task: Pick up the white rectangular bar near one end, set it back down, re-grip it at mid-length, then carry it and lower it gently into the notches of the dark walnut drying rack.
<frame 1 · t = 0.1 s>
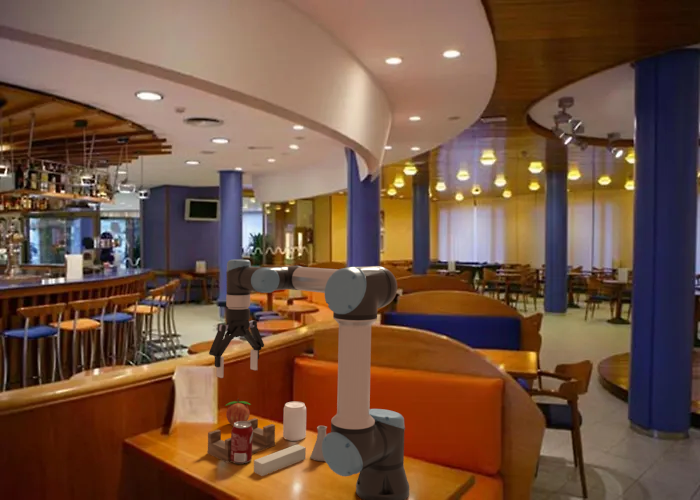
hand: (237, 373, 178), 28 cm above the table, fingers open, 13 cm apart
beverage can: (294, 438, 199), on the table
white rectangular bar: (280, 466, 175), on the table
rack: (242, 449, 187), on the table
soda can: (240, 461, 178), on the table, touching rack
flask: (321, 458, 182), on the table
fruit: (237, 425, 211), on the table
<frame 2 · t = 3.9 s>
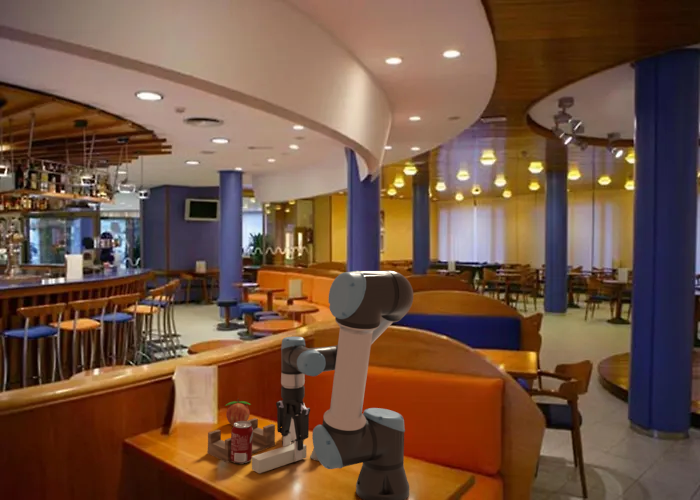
hand: (292, 457, 178), 1 cm above the table, fingers closed on white rectangular bar, 4 cm apart
white rectangular bar: (279, 463, 175), point 1 cm above the table, touching gripper
everything else where it was.
when the fingers open (1 cm above the table, at t = 4.7 s): white rectangular bar stays where it is, on the table.
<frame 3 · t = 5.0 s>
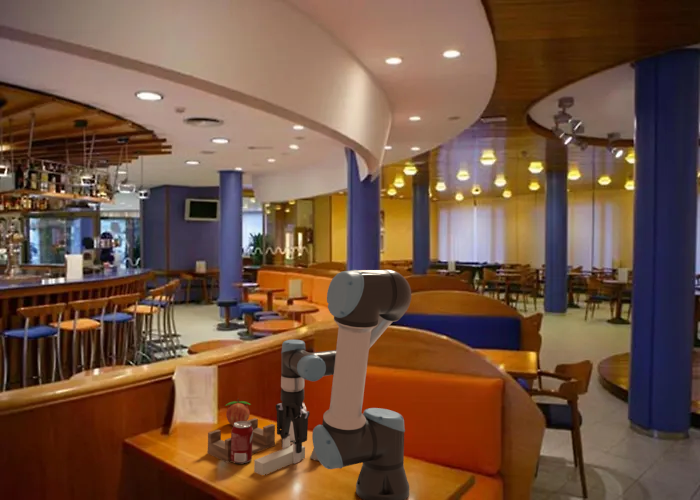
hand: (291, 459, 179), 0 cm above the table, fingers open, 4 cm apart
white rectangular bar: (280, 465, 175), on the table
everything else where it was.
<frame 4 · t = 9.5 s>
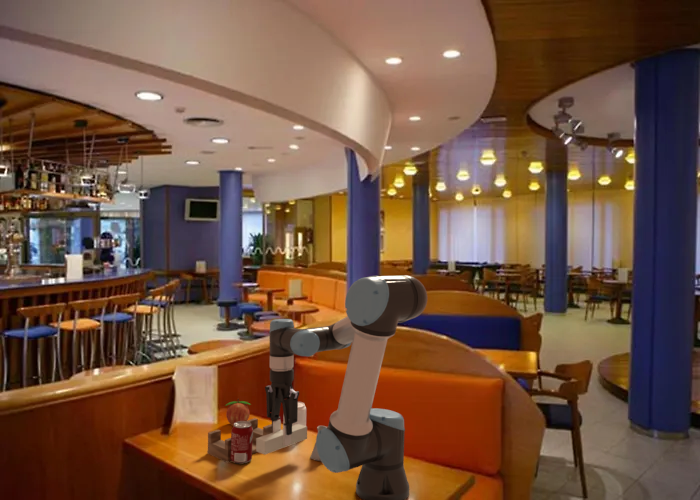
hand: (281, 442, 174), 7 cm above the table, fingers closed on white rectangular bar, 4 cm apart
white rectangular bar: (282, 444, 174), point 7 cm above the table, touching gripper
everything else where it was.
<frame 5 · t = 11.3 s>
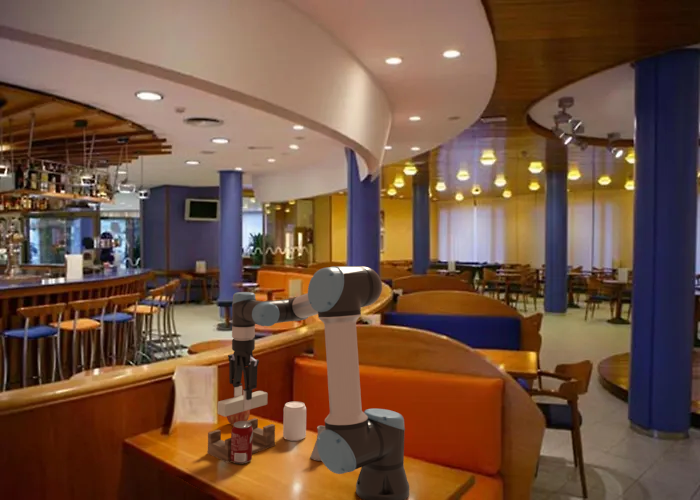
hand: (242, 407, 187), 14 cm above the table, fingers closed on white rectangular bar, 4 cm apart
white rectangular bar: (243, 408, 187), point 14 cm above the table, touching gripper
everything else where it was.
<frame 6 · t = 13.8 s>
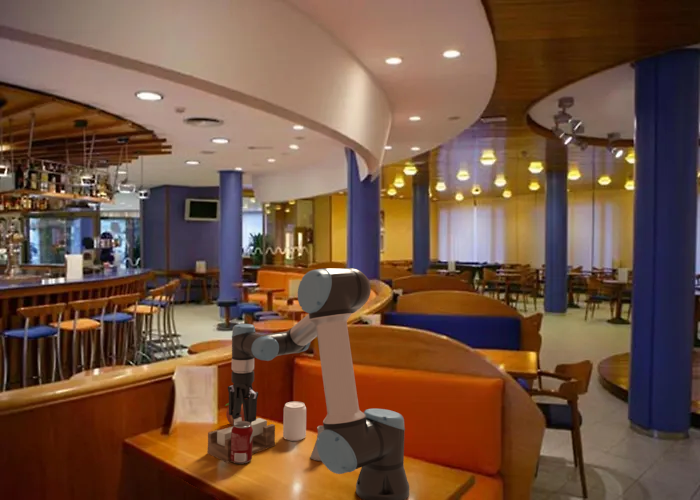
hand: (241, 438, 187), 4 cm above the table, fingers closed on white rectangular bar, 4 cm apart
white rectangular bar: (242, 437, 187), point 4 cm above the table, touching gripper, rack
everything else where it was.
when the fingers open (3 cm above the table, at t = 14.0 s): white rectangular bar stays where it is, resting on rack.
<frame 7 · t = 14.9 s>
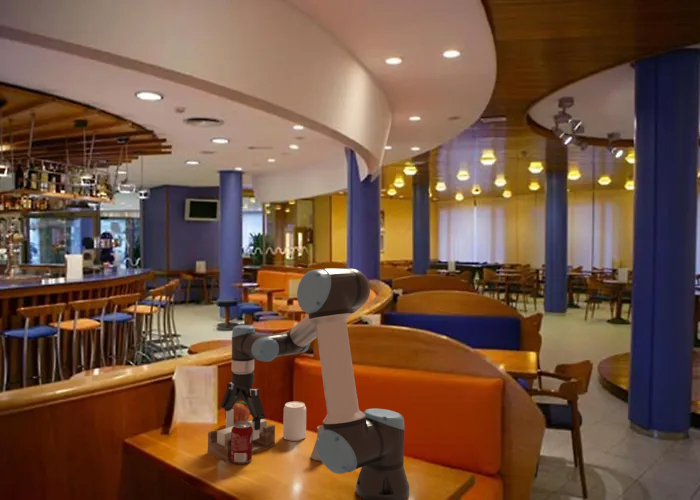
hand: (242, 434, 187), 5 cm above the table, fingers open, 13 cm apart
white rectangular bar: (242, 437, 187), point 4 cm above the table, touching rack
everything else where it was.
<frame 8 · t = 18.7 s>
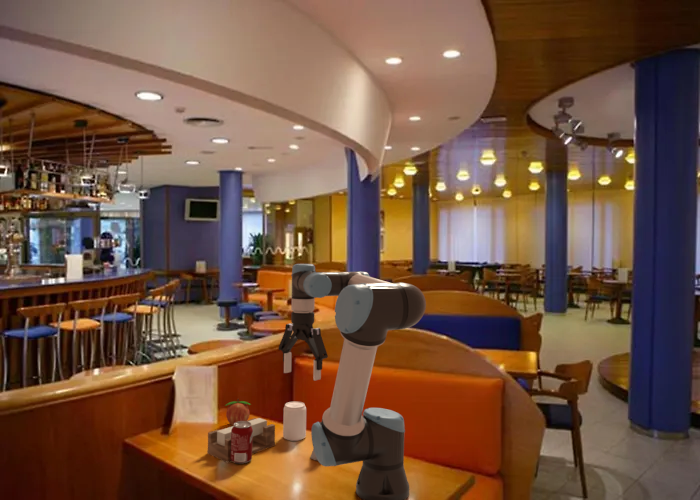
hand: (301, 376, 181), 27 cm above the table, fingers open, 13 cm apart
nothing on the table moved.
at the end: white rectangular bar 0.3 cm off-centre on the rack, point 4.0 cm above the rack's base; white rectangular bar tilted 0°; the gripper is holding nothing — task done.
